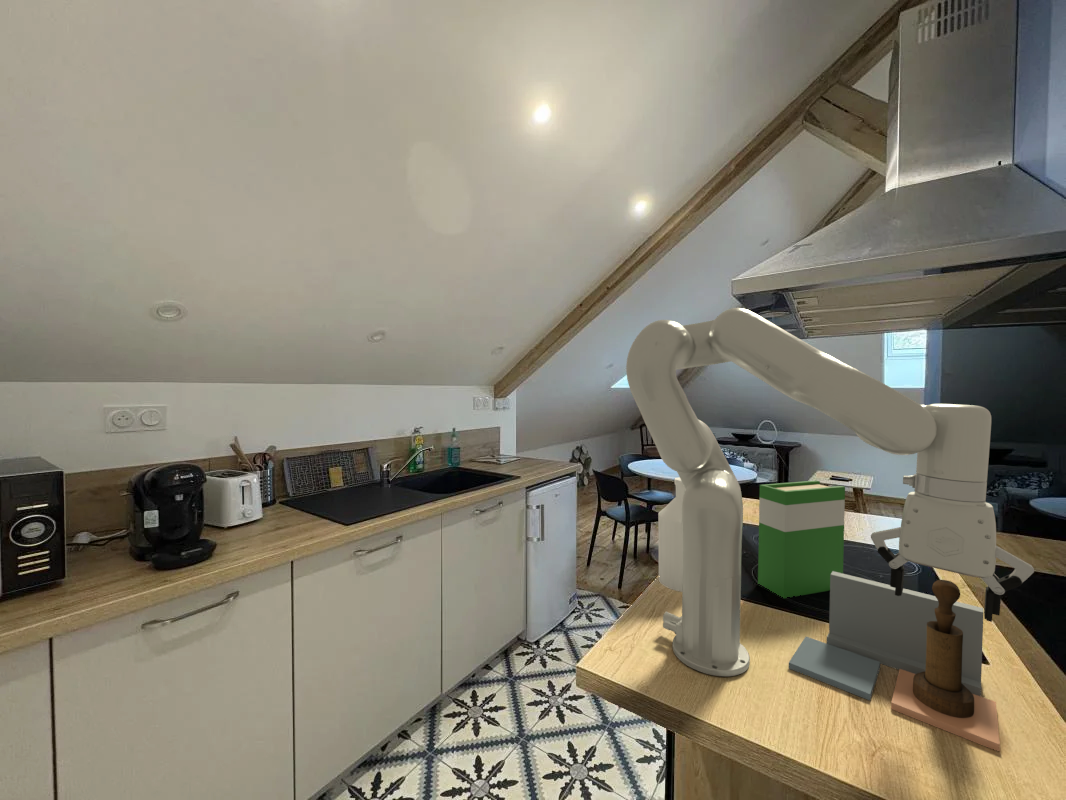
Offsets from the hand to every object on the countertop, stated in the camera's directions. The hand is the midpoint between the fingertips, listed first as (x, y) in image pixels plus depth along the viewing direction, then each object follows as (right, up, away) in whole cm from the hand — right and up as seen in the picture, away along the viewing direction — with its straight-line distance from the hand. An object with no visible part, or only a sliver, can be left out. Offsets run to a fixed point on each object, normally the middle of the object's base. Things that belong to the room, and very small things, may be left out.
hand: (941, 604), depth 65 cm
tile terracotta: (+1, -15, 0) cm, 15 cm away
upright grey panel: (+3, -15, +12) cm, 19 cm away
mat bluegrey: (-9, -15, +10) cm, 20 cm away
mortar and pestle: (0, -15, 0) cm, 15 cm away
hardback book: (+4, -14, +41) cm, 43 cm away
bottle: (-23, -14, +43) cm, 51 cm away
